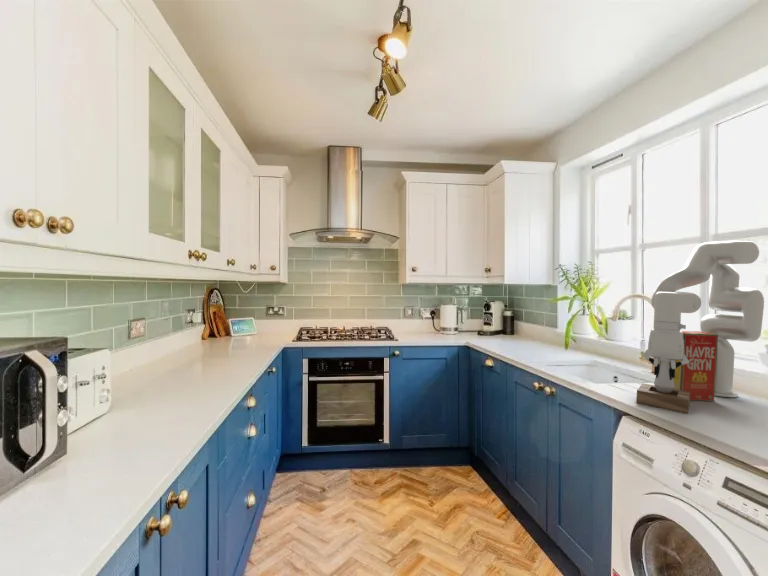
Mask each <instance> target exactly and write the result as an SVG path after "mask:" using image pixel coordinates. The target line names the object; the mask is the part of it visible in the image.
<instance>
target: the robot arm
mask: <svg viewBox="0 0 768 576" xmlns="http://www.w3.org/2000/svg"><path fill="white" fill-rule="evenodd" d="M759 256H760V248H759V246H758V245H757V244H756V243H755V242H754V241H752V240H751V241H750V240H748V241H747V240H744V241H743V240H725V241H707V242H703V243H699V244H698V245H696V246H695V247H694V248H693V250H692V252H691V254H690V255H689V257H688V259H687V260H686V262H685V264H684V266H683V268H682V269H680V270H677V271H676V272H674V273H672V274H670V275H668V276H667V277H666V278H663V280H661V281H660V282H659V284H658V285H657V287H656V289H655V290H654V292H653V293H652V296H651V307H652V308H653V309H654V311H653V313H654V314H653V328H651V330H650V332H649V335H648V336H649V337H648V341H647V342H648V343H647V344H648V345H647V349H646V350H645V352H644V353H643V354H642V358H644V359H646V360H648V361H649V362H650V364H652V365H653V367H654V370H653V373H654V374H653V375H654V376H655V377H656V378H657V377H658V374H659V362H660V361H659V358H666V359H669V360H671V367H670V369H669V376H670V380H672V378H675V369H676V368H677V367H679V366H680V365H683V364H687V363H689V360H688V358H687V357H686V355H685V353H684V335H683V332H680V331H681V330H683V329H684V330H686V328H687V327H686V324H682V323H681V322H682V321H681V320H682V319H681V318H682V316H681V315H682V314H693V313H696V312H697V311H699V310H700V308H702V307H701V306H702V300H701V297H700V296H699V295H698V294H696V293H694V292H689V291H688V292H687V291H679V290H681V289H686V288H689V287H694V286H697V285H698V286H699V285H700V284H704V283H705V282H707V281H708V280H710V283H709V292H708V300H707V301H708V308H710V309H711V310H713V311H719V312H720V311H721V312H732V313H742V314H743V315H732V314H720V313H712V314H706V315H705V316H703V317H702V318H701V320H700V326H699V327H700V332H706V333H712V334H717V335H718V343H717V360H716V376H715V394H714V397H723V398H737V397H738V396H739V394H738V392H736V391H734V390H733V388H734V370H735V369H734V368H735V349H734V347H733V345H732V344H731V343H730V342H729V340H731V341H739V342H740V341H741V342H749V343H750V342H751V343H752V342H755V341H758V340H759V339H760V336H761V334H762V328H763V327H762V326H763V318H764V311H765V310H764V308H765V299H764V295H763V293H762V292H761V291H760V290H759V289H756V288H751V287H739V286H740V285H739V284H740V274H739V273H738V271H737V270H736V269H735V268H734V267H733V266H732V265H747V264H748V265H749V264H753V263H754V262H756V261H757V260H758V258H759ZM682 359H683V360H682ZM676 360H682V361H679V362H677V363H676Z"/></svg>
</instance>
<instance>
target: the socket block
mask: <svg viewBox="0 0 768 576" xmlns="http://www.w3.org/2000/svg"><path fill="white" fill-rule="evenodd" d="M636 403H638V404H637V405H641V404H642V406H646V405H647V406H646V407H652V408H655V407H656V408H657V409H660V408H661V410H665V409H667V410H666V411H670V410H672V411H671V412H675V411H676V412H677V413H680V412H681V414H685V415H688V414H689V409H690V403H691V401H690V391H684V390H678V389H673V390H672V391H671V392H670V393H664V392H660V391H657V390H656V387H655V385H654V384H648V383H642V384H641V385H640V386H639V387H638V388H637V390H636ZM676 412H675V413H676Z"/></svg>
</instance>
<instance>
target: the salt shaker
mask: <svg viewBox="0 0 768 576" xmlns="http://www.w3.org/2000/svg"><path fill="white" fill-rule="evenodd" d="M670 367H671V360H669V359H666V358H659V374H658V377H657V378H656V376H655V377H654V381H653V385H655V387H656V390H657V391H660V392H664V393H670V392H671V391H672V390H673V388H674V380H673V378H672V380H670V376H669V369H670Z"/></svg>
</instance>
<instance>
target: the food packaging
mask: <svg viewBox="0 0 768 576" xmlns="http://www.w3.org/2000/svg"><path fill="white" fill-rule="evenodd" d="M680 332H683V335H684V353H685V355H686V357H687V358H688V360H689V363H687V364H683V365H680V366H679V367H677V368H676V369H675V378H673V380H674V388H673V389H678V390H684V391H690V402H691V401H692V402H715V396H714V394H715V376H716V360H717V343H718V335H717V334H712V333H706V332H701V331H699V330H698V331H697V330H695V331H694V330H693V331H692V330H691V331H690V330H680ZM682 360H683V359H682ZM682 360H676V363H677V362H679V361H682Z"/></svg>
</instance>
